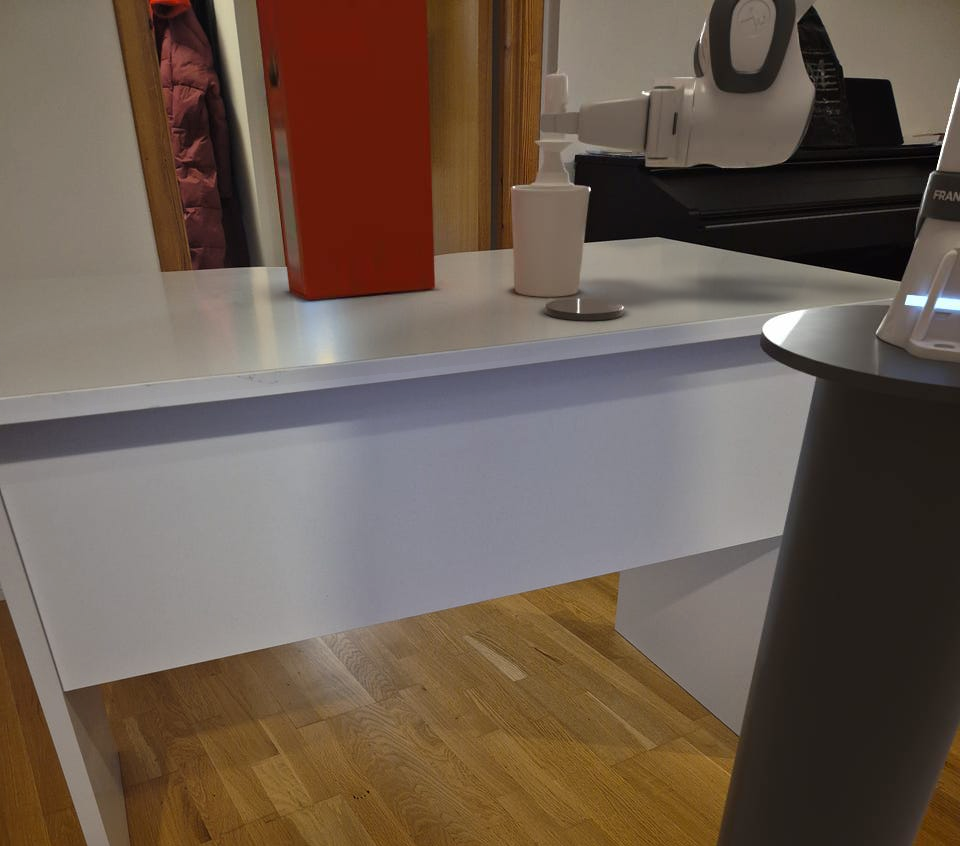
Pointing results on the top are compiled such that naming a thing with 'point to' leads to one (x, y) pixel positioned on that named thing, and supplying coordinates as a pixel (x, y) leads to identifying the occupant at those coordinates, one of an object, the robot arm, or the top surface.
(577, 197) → the white tapered cup
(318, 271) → the file binder
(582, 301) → the slate coaster
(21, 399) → the top surface
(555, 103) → the candle
